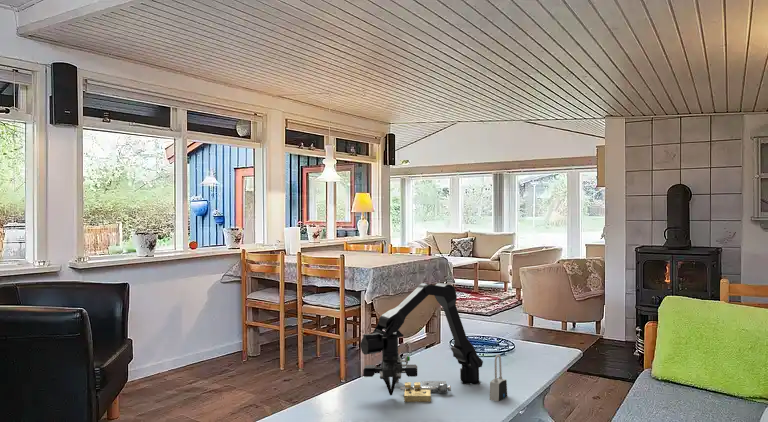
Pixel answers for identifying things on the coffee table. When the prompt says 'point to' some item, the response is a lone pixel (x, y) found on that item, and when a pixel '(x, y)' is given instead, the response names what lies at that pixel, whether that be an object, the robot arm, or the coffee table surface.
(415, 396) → the loose leaf
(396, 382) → the mechanical component
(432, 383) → the fixed leaf
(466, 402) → the coffee table surface
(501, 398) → the padlock
